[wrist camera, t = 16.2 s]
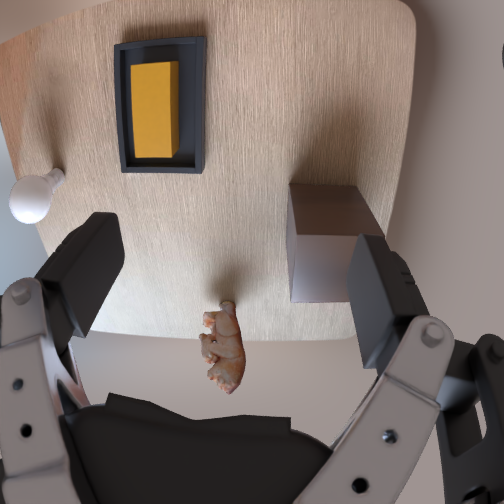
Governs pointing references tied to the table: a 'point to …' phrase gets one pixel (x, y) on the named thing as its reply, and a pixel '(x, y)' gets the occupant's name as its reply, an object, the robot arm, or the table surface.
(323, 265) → the stand
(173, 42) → the tray
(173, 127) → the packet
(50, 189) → the lightbulb
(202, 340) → the figurine
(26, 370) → the robot arm
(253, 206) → the table surface
